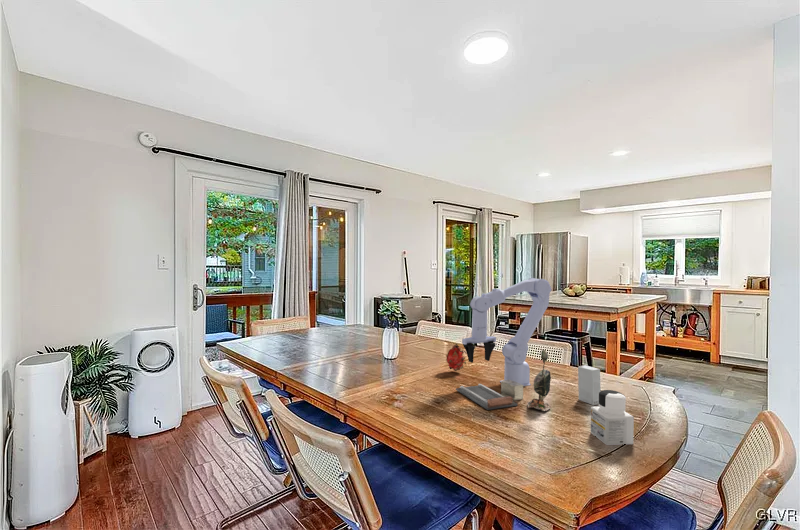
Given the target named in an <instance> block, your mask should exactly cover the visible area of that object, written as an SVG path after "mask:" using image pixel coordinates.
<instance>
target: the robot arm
mask: <svg viewBox="0 0 800 530" xmlns="http://www.w3.org/2000/svg"><path fill="white" fill-rule="evenodd" d="M551 286H552V285H550V282H549V281H548V279H545V278H535V277H531V278H528V279H524V280H522V281H519V282H516V284H512V285H511V286H508V287H507V288H504V289H501V288H495V287H494V288H492V289H491V291H489V292H486V293H481V296H479V295H477V296H474V297H472V299H471V301H470V302H469V305H470V307H471V309H472V315H471V316H472V318H471V330H472V331H471V336H469V337H464V338H462V340H461V343H462V346H463V348H464V351H465V352H466V355H467V358H468V362H469V363H474V352H475V348H476V346H475V345H473V344H483V348H484V349H483V350H484V360H486V361H487V362H489V361H490V359H491V356H492V353H493V352H494V351H493V350H494V349H495V348H496V342H497V337H496V336H495V335H494V336H489V335H488V333H487V332H488V310H489V309H490V308H493V307H495V306H498V305H500V304H502V303H504V302H505V300H506V299H507V298H509V297H512V296H515V295H517V294H520V293H523V292H527V293H528V294H529V296H530V297H531V300H532V305H531V307H530V308H529V310H528V312H527V314H526V315H525V318H524V319H523V321H522V323H521V324H520V326H519V328H518V330H517V332H516V333H515V335H514V336H513V337H512V338H509V340H508V341H507V343H505V344H504V345H503V346H502V349H501V353H502V356H503V357H504V369H503V370H504V373H503V374H504V375H503V376H504V378H503V379H504V380H512V381H514V382H517V383H520V384H522V385H523V387H526V386H531V385H532V384H531V381H530V376H531V375H530V374H531V372H530V371H531V369H530V365H529V363H528V362H526V359H527V355H528V351H529V344H528V343H529V341H530V339H531V337H532V336H533V334H534V332H535V330H536V328H537V327H538V325H539V323H540V321H541V320H542V317H543V315H544V314H545V313H546V310H547V309H548V307H549V303H550V294H551V292H552V287H551ZM503 379H502V380H499V382H500V383H501V381H504V380H503Z"/></svg>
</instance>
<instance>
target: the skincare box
mask: <svg viewBox="0 0 800 530" xmlns="http://www.w3.org/2000/svg"><path fill="white" fill-rule="evenodd" d="M577 378H578V379H577V381H578V400H579V401H581V402H584V403H586V404H588V405H589V404H590V405H592V406H594V405H595V406H596V405H599V392H600V391H602V390H601V369H600V368H596V367H593V366H589V365H585V364H584V365H579V366H578V367H577Z"/></svg>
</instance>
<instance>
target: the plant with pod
mask: <svg viewBox="0 0 800 530" xmlns="http://www.w3.org/2000/svg"><path fill="white" fill-rule="evenodd" d="M540 354H541V357H540V358H541V359H540V360H541V361H542V363H543V367H542V370H541V371H539V372H538V373H537V374H536V376H535V378H534V380H533V383H532V386H533V390H534V392H535V393H536V394H538V398H532V399H531V400H530V401H528V402H527V403H526V405H527V408H528V409H529V408H534V409H536V410H540V411H541V412H547V411H548V410H549V409H550V410H551V408H552V407H551V405H550V403H548V402H547V403H545V398H546V397H547V396H548V395H549V392H550V390H551V389H550V388H551V380H552V379H551V378H552V377H551V372H550V371H551V370H548V369H545V363H546V361H547V360H548V359H549V354H548V352H547V351H546V350H545V349H542V350H541V353H540Z"/></svg>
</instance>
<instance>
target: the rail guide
mask: <svg viewBox="0 0 800 530" xmlns="http://www.w3.org/2000/svg"><path fill="white" fill-rule="evenodd" d="M455 391H457V392H458V393H460V394H462V395H463V396H465V397H466V398H467V399H470V401H472V402H474V403H475V404H478V405H479V406H480V407H481V408H483V409H485V410H486V411H492V410H497V409H505V408H510V407H516V406H519V405H518V403H517V402H515V401H514V400H513V398H512V397H510V396H507V397H506V396H503V395H501V393H499V392H497V391H495V390H493V389H491V388H489V387H488V386H486V385H484V384H482V383H478V385H474V386H473V385H471V386H463V385H461V386H459V387H456V388H455Z"/></svg>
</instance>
